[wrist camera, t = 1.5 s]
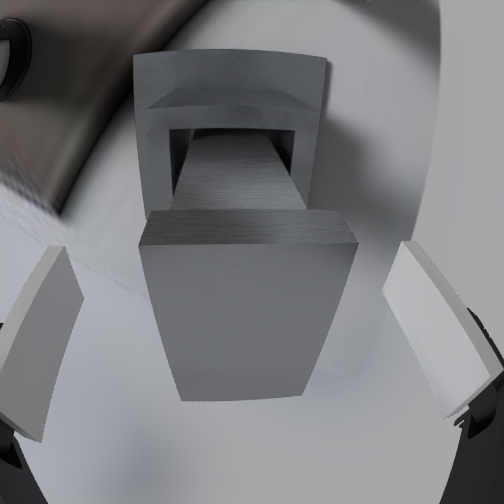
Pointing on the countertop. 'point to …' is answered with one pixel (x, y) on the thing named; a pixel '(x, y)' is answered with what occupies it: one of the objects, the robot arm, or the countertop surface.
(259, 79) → the base
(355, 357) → the countertop surface
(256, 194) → the column
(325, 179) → the countertop surface
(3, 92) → the french press
